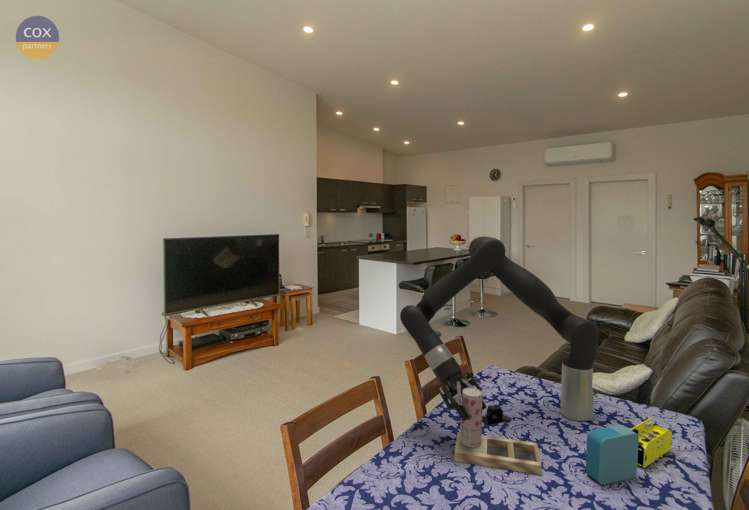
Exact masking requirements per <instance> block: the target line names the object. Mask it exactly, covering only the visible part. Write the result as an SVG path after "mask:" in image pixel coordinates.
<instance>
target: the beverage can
mask: <svg viewBox="0 0 749 510" xmlns="http://www.w3.org/2000/svg"><path fill="white" fill-rule="evenodd" d="M482 399H483V393H482V391H480V390H479V389H477V388H476V387H474V388H465V389H463V391H462V395H461V405H463V406H464V408H465V409H466V411H467V413H468V414H469V416H470V418H469V419H467V420H466V421H464V420H463V419H462V418H461V417H460V432H461V442H462V444H463V445H465V446H467V447H470V448H476V447H479V446H480V445H481V438H482V435H483V434H482V431H483V428H482V427H483V426H482V425H483V424H482V423H483V422H482V416H483V410H482Z"/></svg>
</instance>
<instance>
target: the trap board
mask: <svg viewBox="0 0 749 510" xmlns="http://www.w3.org/2000/svg"><path fill="white" fill-rule="evenodd" d="M456 435H457V436H456V440H455V447H454V453H453V454H454V455H453V456H454V459H453V460H454V462H456V463H457V462H458V463H465V464H472V465H477V466H482V467H488V468H495V469H502V470H507V471H513V472H518V473H525V474H531V475H532V474H533V475H537V476H542V470H543V469H542V467H543V465H542V462H541V461H542V460H541V456H540V452H539V446H538V443H537V442H531V441H525V440H520V439H519V440H518V439H511V438H510V439H509V438H505V437H504V438H502V437H498V436H497V437H496V436H492V435H491V436H490V435H483V434H482V438H481V445H480V446H479V447H476V448H470V447H467V446H465V445H463V444H462V442H461V431H457V433H456Z"/></svg>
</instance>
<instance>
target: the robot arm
mask: <svg viewBox="0 0 749 510" xmlns="http://www.w3.org/2000/svg"><path fill="white" fill-rule="evenodd" d="M468 245H469V246H468V253H469V256H470V257H469V258H468V259H467V260H466V261H464V263H463V264H461V265H460V266H459V267H457V268H455V269H454V270H452V271H451V272H449V273H447V274H446V275H444V276H443V277H441V278H439V280H437V281H436V282H435V283H434V284H432V285H431V286H430V287H429V288H428V289H427V290H426V291H424V293H423V294H422V296H421V300H420V301H419V302H418V303H417V304H416V305H413V304H408V305H405V306H404V307H403V308H402V309H401V310H400V312H399V313H400V314H399V318H400V322H401V324H402V326H403V327H404V329H405V330H406V331H407V332H408V334H409V335H410V337H411V338H412V339H413V341H414V342H415V343H416V345H417V347H418V349H419V350H420V351H421V353H422V355H423V356H424V358H425V361H426V362H427V364H428V366H429V368H430V369H431V371H432V372H433V374H434V376H435V377H436V379H437V380H438V382H439V383H440V384H441V385H442V384H443V385H442V386H440V388H438V389H437V391H438V393H439V395H440V397H441V399H442V400H443V402H444V404H445V405H446V407H447V409H448V410H451V409H453V410H455V411H456V412H457V414H458V416H459V417H460V419H461V418H462V419H463V420H464V421H466V420H467V419H469V418H470V416H469V414H468V413H467V411H466V409H465V408H464V406H463V405H461V404H462V391H463V389H465V388H476V389H479V390H480V391H481V392H482V391H483V388H482V387H481V386H480V385H479V383H478V382H477V381H476V378H474V376H473V374H471V373H470V372H469V373H467V374H466V375H463V374H462V372H463V370H462V369H463V368H462V367H461V365H460V364H459V362H458V361H457V360H456V358H455V356H454V355H453V354H452V353H451V351H450V350H449V348H448V347H447V346H446V345H445V343H444V342H443V341H442V339H441V338H440V336H439V335H438V333H437V332H436V331H435V330H434V329H433V327H432V326H431V325H430V323H429V322H430V321H431V320H432V319H433V317H435V315H436V314H437V313H438V311H439V310H441V309H442V308H443V307H444V306H445V305H446V304H448V303H449V302H450V301H451V300H452V299H454V297H455V296H457V295H458V294H459V293H460V292H461V291H462V290H464V288H466V287H467V286H468V285H470V284H471V283H472V282H474V281H475V280H476V279H478V278H479V277H481V276H482V275H484V274H485V273H487V272H489V273H491V274H492V275H493V276H495V278H496V279H498V280H499V281H500V282H501V284H502V285H504V286H505V288H507V289H508V290H509V291H510V292H511V293H512V294H513V295H514V296H515V297H516V298H517V299H518V300H519V301H520V302H521V303H523V304H524V306H526V307H528V308H529V309H530V310H531V311H533V312H534V313H535V314H537V315H538V316H539V317H541V318H543V320H545V321H546V322H547V323H548V324H549V325H550V326H551V327H552V328H553V329H554V330H555V331H556V333H557V334H558V335H559V336H560V337H561V338H562V339H563V340H564V341H566V342H568V343H570V349H569V350H570V351H569V352H565V353H563V355H562V357H561V359H562V361H561V384H560V386H561V389H560V405H559V406H560V414H561V415H562V416H563V417H565V418H567V419H569V420H572V421H578V422H587V421H594V420H593V419H594V400H595V393H594V390H593V381H594V380H593V376H594V363H595V362H596V359H597V356H598V355H597V354H598V346H599V329H598V327H597V324H595V323H594V322H593V321H592V320H589V319H586V318H583V317H581V316H578V315H576V314H574V313H572V312H571V311H570V310H568V309H567V308H565V306H563V305H562V304H561V303H560V302H559V301H558V299H557V298H556V295H555V293H554V292H553V291H552V290H551V288H550V287H549V286H548V285H547V284H546V283H545V282H543V280H541V279H540V278H539V277H538V276H536V275H535V274H534V273H533V272H530V271H529V270H527V269H526V268H525V267H523V266H521V265H519V264H518V263H516V262H515V261H514V260H513V261H512V259H511V258H510V257H508V256H507V255H506V247H505V244H504V243H503V242H502V241H501V240H500V239H498V238H496V237H491V236H483V235H482V236H478V237H476V238H473V239H472V240H471V242H470V243H469V244H468ZM485 402H486V401H484V399H483V398H482V411H483V410H485V409H487V408H488V406H487V404H486V403H485Z"/></svg>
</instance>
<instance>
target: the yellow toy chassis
mask: <svg viewBox="0 0 749 510" xmlns="http://www.w3.org/2000/svg"><path fill="white" fill-rule="evenodd" d="M629 430H631V431H633V432H635V433H636V434H637V435H638V437H639V442H638V461H637V467H638V466H639V467H642V468H643V469H645V468H646V467H648V466H649V465H651V464H652V463H653V462H655V461H659V458H663V456H664V454H667V452H670V450H672V443H673V439H672V437H673V432H672V431H671V429H667V428H664V427H661V426H659V425H654V421H653V419H652V418H651V417H649V418H647V419H646V420H643V421H642V422H640V423H638V424H637V425H635V426H633V427H632V428H630V429H629Z"/></svg>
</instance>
